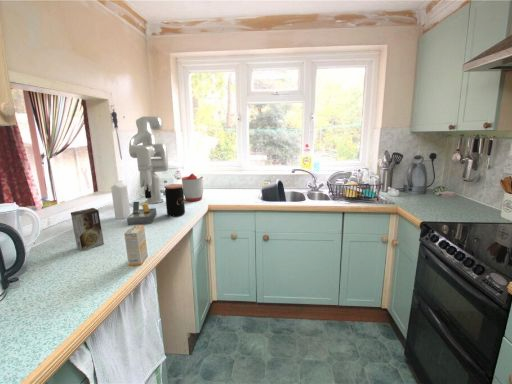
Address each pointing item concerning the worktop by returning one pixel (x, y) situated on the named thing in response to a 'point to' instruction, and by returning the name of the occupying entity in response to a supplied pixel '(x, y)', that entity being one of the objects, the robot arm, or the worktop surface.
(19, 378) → the worktop surface
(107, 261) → the worktop surface
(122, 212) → the milk
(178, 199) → the coffee jar
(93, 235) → the coffee box
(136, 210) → the paddle black
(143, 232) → the supplement box
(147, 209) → the paddle amber
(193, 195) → the citrus juicer
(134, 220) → the switch panel
